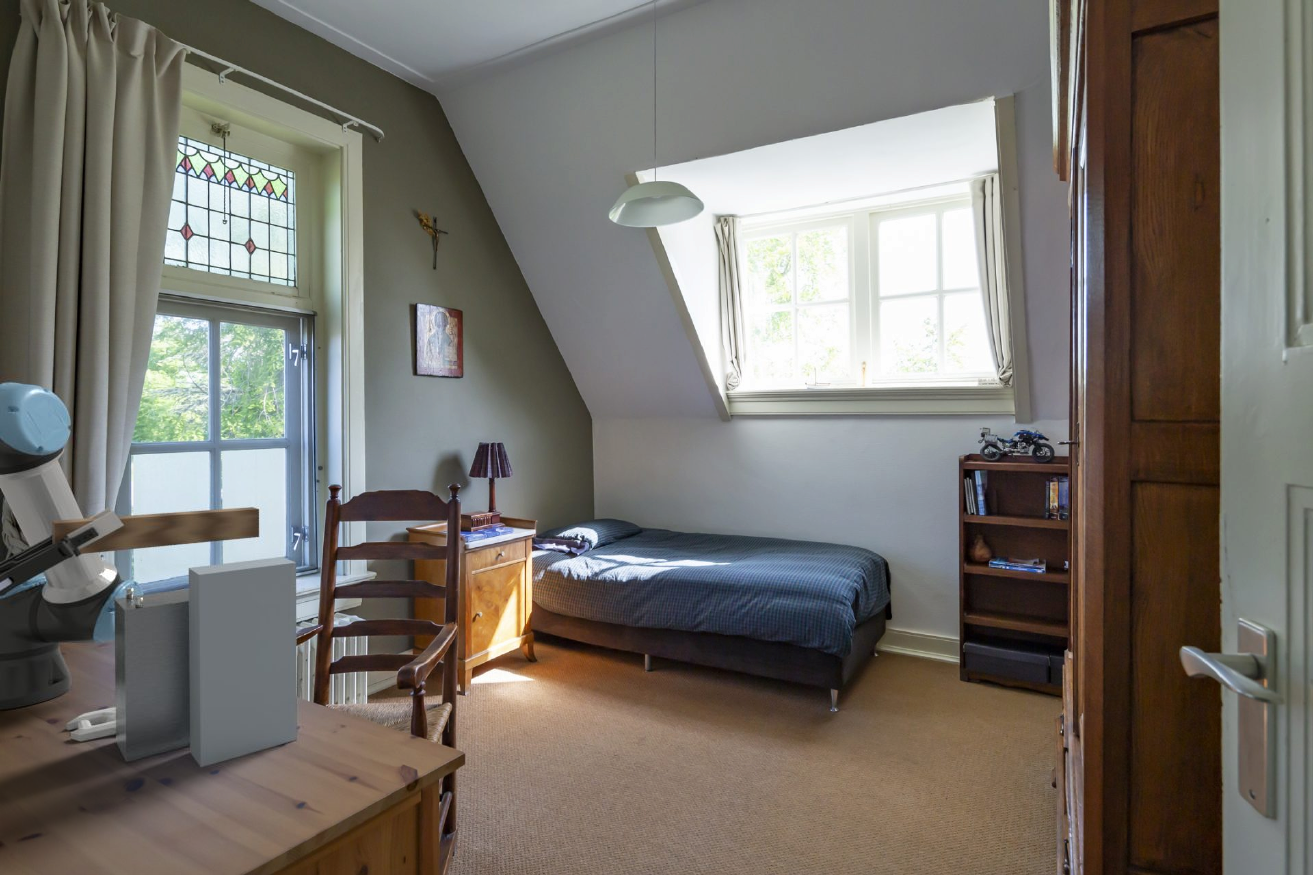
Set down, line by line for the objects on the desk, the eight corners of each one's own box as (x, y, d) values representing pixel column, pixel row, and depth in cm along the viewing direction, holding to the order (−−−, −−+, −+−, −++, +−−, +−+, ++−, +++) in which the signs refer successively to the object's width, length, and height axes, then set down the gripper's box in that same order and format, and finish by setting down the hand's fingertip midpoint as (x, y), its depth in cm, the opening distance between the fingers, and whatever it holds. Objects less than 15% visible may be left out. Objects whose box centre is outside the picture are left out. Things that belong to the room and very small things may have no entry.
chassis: (116, 741, 120) (114, 589, 119) (224, 714, 131) (223, 575, 130) (126, 762, 113) (124, 600, 112) (240, 731, 124) (239, 584, 123)
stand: (190, 752, 116) (188, 567, 115) (283, 726, 126) (282, 556, 125) (200, 767, 111) (199, 574, 110) (297, 739, 121) (296, 562, 120)
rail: (55, 556, 108) (54, 523, 108) (52, 552, 111) (52, 520, 111) (259, 537, 128) (259, 509, 128) (252, 534, 131) (252, 507, 131)
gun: (191, 685, 136) (191, 704, 127) (192, 703, 136) (192, 723, 128) (68, 711, 126) (59, 733, 118) (69, 730, 126) (61, 754, 118)
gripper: (-43, 619, 109) (121, 529, 123) (-43, 644, 96) (140, 541, 110) (-79, 580, 106) (93, 493, 120) (-84, 601, 94) (109, 501, 108)
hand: (115, 516), depth 115 cm, fingers closed on rail, 4 cm apart
